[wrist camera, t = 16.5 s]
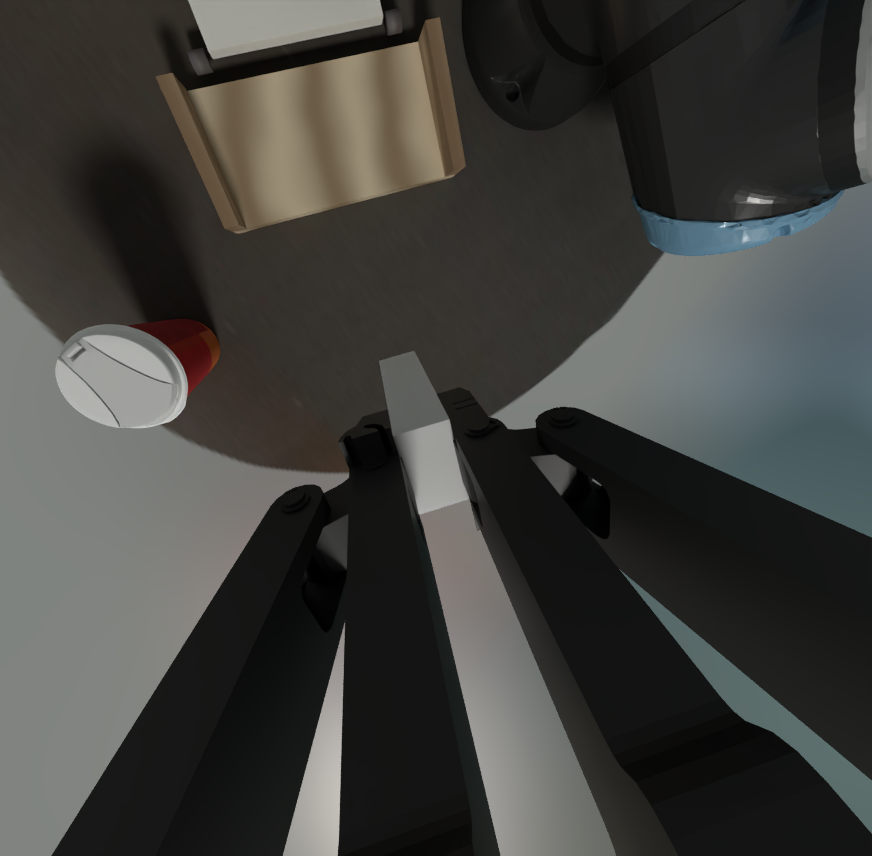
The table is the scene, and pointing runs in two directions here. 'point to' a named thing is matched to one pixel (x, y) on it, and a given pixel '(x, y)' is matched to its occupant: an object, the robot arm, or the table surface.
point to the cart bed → (321, 130)
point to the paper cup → (135, 370)
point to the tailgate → (277, 21)
